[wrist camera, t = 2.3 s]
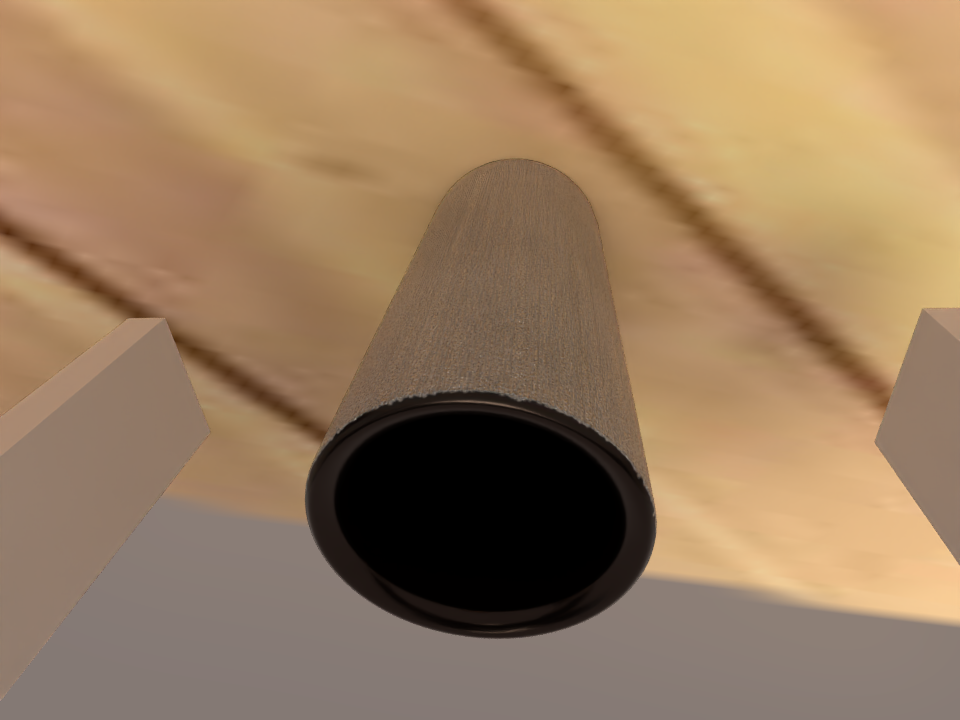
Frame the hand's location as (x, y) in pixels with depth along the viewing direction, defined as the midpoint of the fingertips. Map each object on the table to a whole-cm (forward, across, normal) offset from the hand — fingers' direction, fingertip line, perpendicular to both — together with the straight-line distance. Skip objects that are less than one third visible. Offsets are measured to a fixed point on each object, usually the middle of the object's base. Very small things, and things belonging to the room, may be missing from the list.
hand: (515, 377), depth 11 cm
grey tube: (+7, 0, 0) cm, 7 cm away
